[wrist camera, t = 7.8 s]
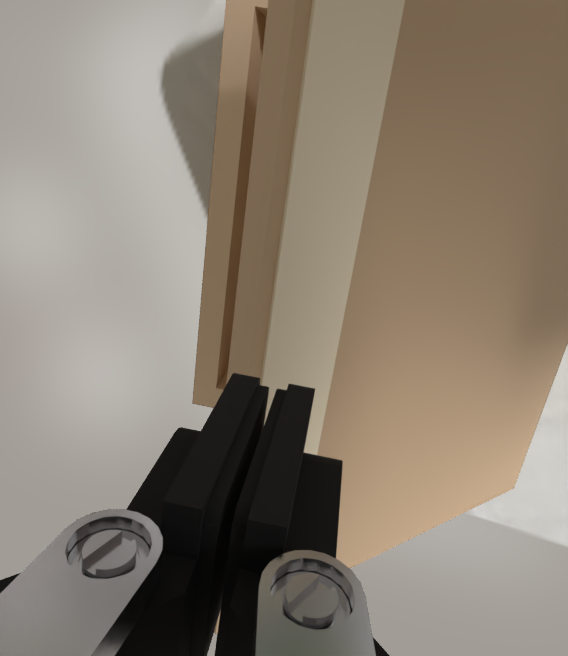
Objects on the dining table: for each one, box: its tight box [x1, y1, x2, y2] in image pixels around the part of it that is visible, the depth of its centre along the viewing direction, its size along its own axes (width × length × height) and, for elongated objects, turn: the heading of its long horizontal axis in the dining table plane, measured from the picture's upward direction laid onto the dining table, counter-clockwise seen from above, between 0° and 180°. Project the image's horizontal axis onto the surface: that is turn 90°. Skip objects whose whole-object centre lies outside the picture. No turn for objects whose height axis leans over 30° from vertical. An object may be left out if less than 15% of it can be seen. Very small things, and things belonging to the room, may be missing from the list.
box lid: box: [214, 0, 568, 634], centre depth 18 cm, size 21×17×1 cm
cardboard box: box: [193, 0, 268, 408], centre depth 28 cm, size 20×16×8 cm
